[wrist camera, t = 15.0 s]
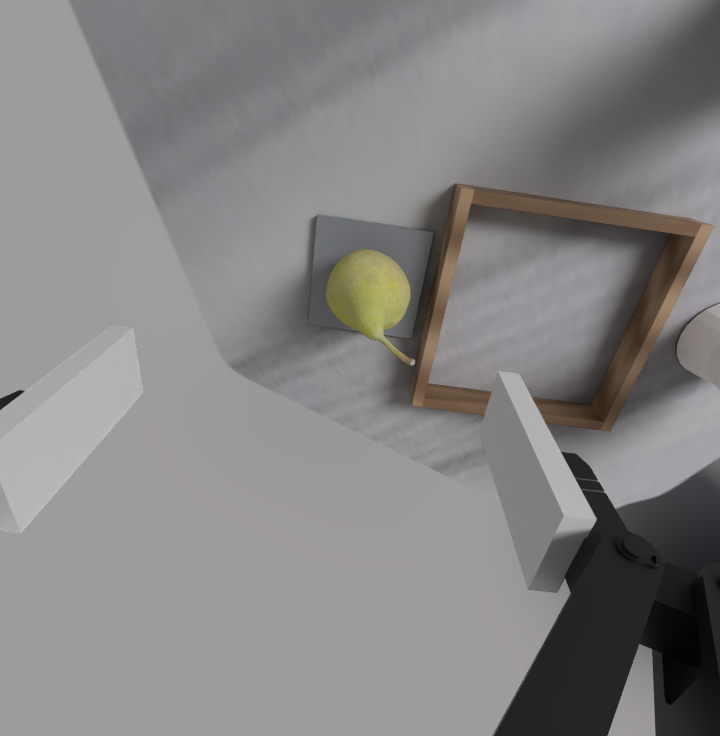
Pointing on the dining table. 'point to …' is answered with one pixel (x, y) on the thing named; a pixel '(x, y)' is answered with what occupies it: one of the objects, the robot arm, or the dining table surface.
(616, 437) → the dining table surface
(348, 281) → the fruit
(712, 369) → the cup
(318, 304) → the slate coaster
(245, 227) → the dining table surface
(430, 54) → the dining table surface
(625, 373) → the walnut frame
